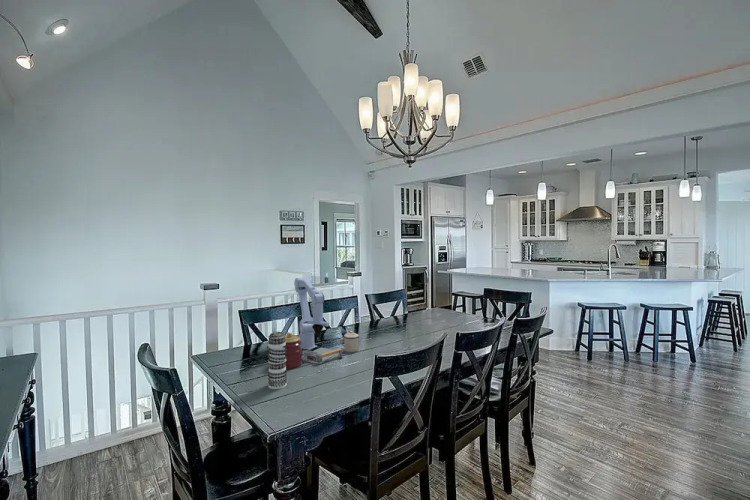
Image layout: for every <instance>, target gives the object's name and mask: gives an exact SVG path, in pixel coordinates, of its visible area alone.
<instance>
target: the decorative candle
mask: <svg viewBox="0 0 750 500" xmlns="http://www.w3.org/2000/svg"><path fill="white" fill-rule="evenodd" d="M286 335H287V334H285V333H284V332H282V331H273V332H271V333H270V334H269V335H268V336H267V338H268V345H267V346H266V349H267V351H266V352H267V354H266V355H267V362H268V372H267V373H268V375H267V378H268V379H267V380H268V382H267V384H268V388H269V389H271V390H279V389H280V390H281V389H284V388H285V387H286V386H287V385H288V384H287V381H288V379H287V378H288V377H287V371H288V369H287V368H286V366H285V362H286V358H287V357H286V356H285V355H286V354H287V352H285V351H287V349H286V347H287V345H286V342H285V336H286Z"/></svg>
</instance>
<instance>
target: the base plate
mask: <svg viewBox="0 0 750 500" xmlns="http://www.w3.org/2000/svg"><path fill="white" fill-rule="evenodd" d="M333 350H334V349H331V348H327V347H326V348H325V347H319V348H317V349H315V350H313V351H312V350H307V351H305V352H303V355H302V362H307V363H310V364H316V365H321V364H323V363H326V362H327V361H330V360H332V359H334V358H336V357H338V358H339V360H340V359H341V360H342V359H343V353H344V352H342V350H339V353H336V354H333V355H330V356H326V357H323V358H322V362H316V354H323V353H327V352H330V351H333Z"/></svg>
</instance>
